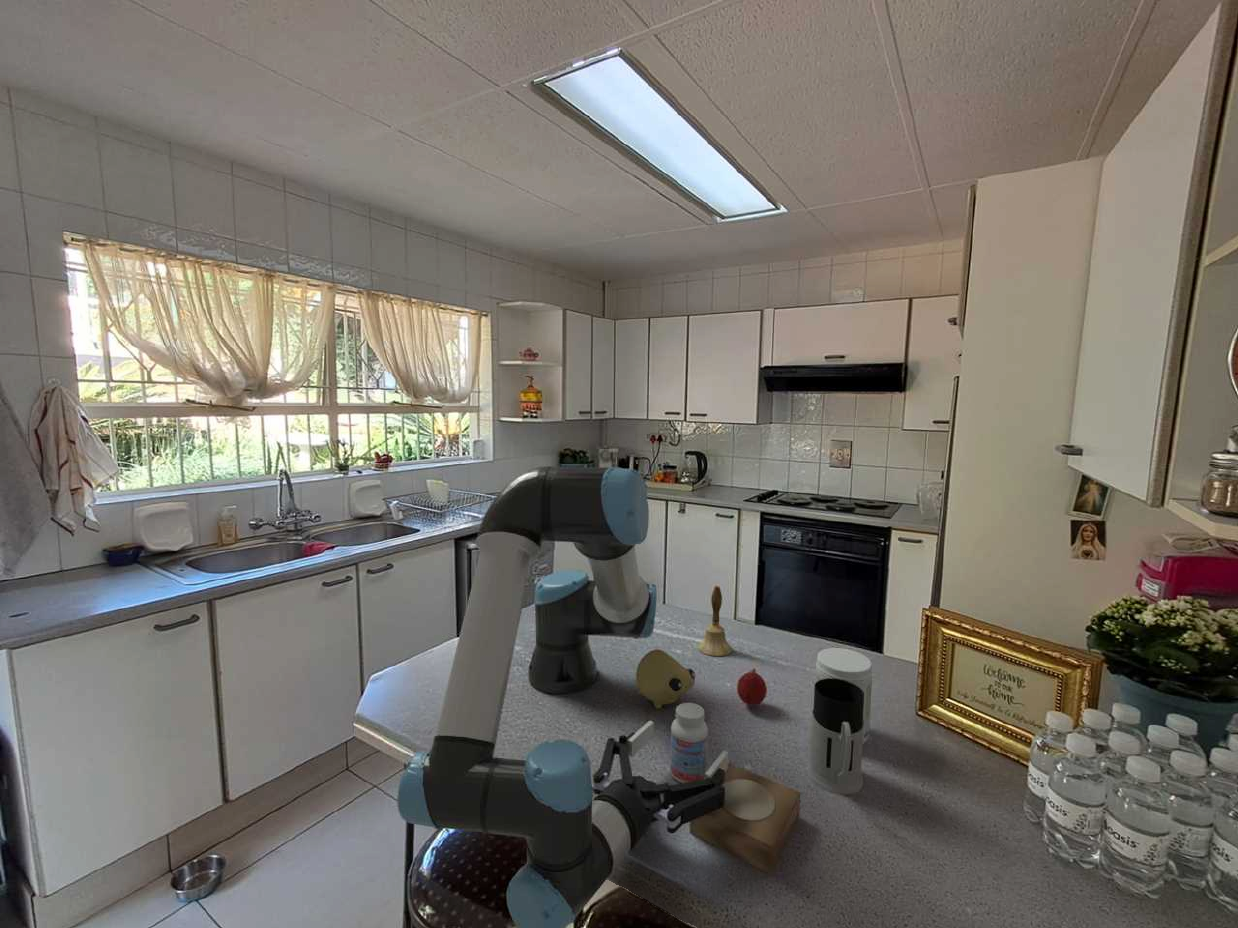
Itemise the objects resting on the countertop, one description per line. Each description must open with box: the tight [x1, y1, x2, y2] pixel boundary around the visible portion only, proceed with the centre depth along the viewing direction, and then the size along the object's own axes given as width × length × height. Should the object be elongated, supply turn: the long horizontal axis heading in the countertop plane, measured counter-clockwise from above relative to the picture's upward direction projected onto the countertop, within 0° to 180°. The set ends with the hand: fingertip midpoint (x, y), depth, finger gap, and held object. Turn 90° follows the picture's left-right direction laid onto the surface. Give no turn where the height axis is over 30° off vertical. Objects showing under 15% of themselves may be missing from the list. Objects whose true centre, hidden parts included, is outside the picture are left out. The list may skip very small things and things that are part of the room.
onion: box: [736, 667, 768, 708], centre depth 110 cm, size 6×6×8 cm
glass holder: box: [806, 678, 864, 795], centre depth 87 cm, size 9×14×15 cm, turn 167°
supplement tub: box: [815, 647, 873, 745], centre depth 101 cm, size 10×10×15 cm
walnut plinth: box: [689, 762, 801, 875], centre depth 80 cm, size 12×12×4 cm
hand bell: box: [697, 585, 733, 657], centre depth 135 cm, size 8×8×16 cm
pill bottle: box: [669, 702, 709, 783], centre depth 90 cm, size 6×6×11 cm
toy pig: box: [635, 648, 696, 710], centre depth 111 cm, size 10×12×11 cm
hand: (687, 743), depth 89 cm, fingers open, 13 cm apart
